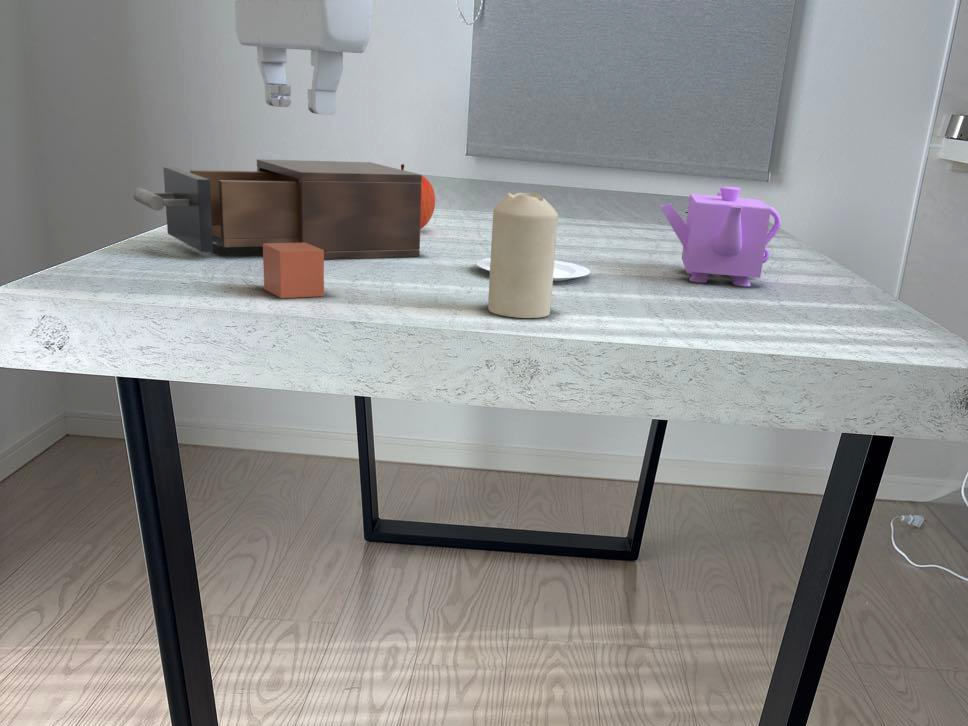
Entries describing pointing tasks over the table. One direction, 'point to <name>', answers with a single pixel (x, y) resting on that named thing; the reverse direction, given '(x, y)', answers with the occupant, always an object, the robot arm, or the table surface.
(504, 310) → the candle
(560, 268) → the white saucer
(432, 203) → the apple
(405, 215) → the cabinet
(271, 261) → the block
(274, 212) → the drawer
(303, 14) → the robot arm
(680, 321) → the table surface
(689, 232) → the teapot
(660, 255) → the table surface
